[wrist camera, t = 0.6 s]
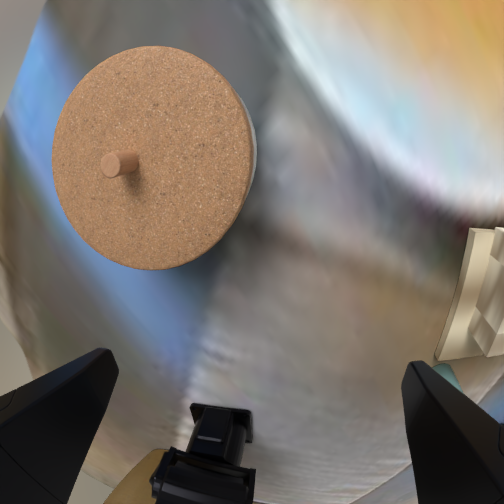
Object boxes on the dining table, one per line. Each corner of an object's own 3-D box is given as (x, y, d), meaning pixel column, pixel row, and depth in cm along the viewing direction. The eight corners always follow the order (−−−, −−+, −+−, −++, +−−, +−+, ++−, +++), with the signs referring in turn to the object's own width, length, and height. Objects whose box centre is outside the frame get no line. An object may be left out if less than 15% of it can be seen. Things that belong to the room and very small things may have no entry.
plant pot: (164, 477, 40) (138, 545, 26) (113, 431, 36) (71, 509, 21) (238, 482, 36) (219, 565, 22) (191, 436, 32) (154, 541, 17)
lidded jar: (304, 142, 18) (310, 148, 9) (200, 253, 22) (144, 328, 13) (183, 45, 16) (106, 0, 8) (100, 162, 20) (8, 188, 12)
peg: (445, 384, 24) (467, 443, 16) (419, 387, 24) (438, 450, 17) (455, 362, 22) (483, 422, 15) (429, 365, 23) (453, 429, 16)
